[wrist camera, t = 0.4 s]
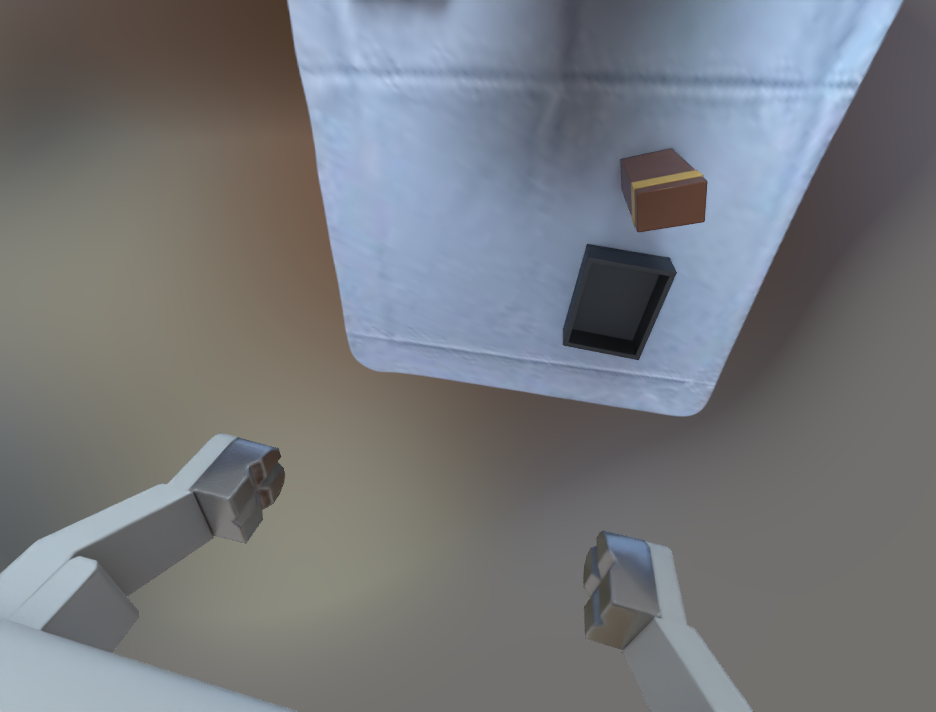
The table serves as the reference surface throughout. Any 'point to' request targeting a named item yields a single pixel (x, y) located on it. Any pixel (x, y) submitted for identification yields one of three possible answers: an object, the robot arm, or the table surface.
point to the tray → (616, 301)
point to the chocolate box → (663, 190)
